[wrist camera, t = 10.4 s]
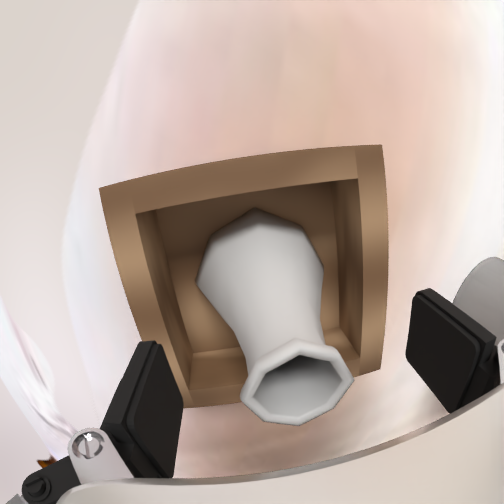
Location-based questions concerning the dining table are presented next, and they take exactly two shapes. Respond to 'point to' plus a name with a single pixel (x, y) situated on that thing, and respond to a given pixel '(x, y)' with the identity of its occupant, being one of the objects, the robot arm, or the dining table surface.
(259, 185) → the walnut well
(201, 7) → the dining table surface
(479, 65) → the dining table surface
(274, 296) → the flask
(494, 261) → the coffee mug
